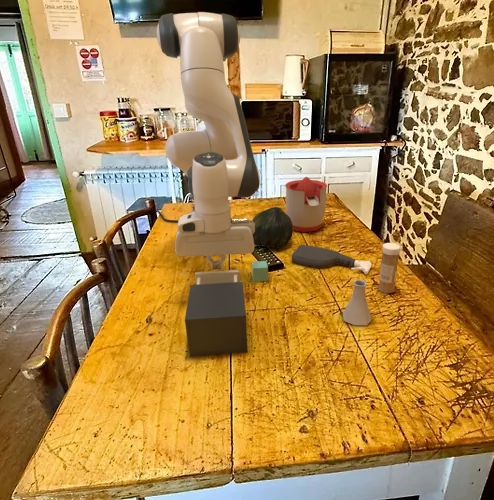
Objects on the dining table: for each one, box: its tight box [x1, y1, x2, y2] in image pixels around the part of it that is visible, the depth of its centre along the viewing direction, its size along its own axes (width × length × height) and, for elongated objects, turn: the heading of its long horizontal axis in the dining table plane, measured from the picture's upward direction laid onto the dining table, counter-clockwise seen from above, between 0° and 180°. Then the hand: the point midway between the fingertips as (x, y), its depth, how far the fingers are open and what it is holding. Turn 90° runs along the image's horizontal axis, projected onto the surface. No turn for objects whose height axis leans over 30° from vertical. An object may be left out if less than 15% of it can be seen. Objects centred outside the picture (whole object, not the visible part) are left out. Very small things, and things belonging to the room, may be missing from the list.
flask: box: [342, 279, 373, 326], centre depth 96 cm, size 7×7×10 cm
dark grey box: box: [184, 281, 249, 358], centre depth 91 cm, size 15×13×10 cm
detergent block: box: [251, 260, 269, 283], centre depth 117 cm, size 4×4×4 cm
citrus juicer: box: [284, 176, 328, 233], centre depth 150 cm, size 16×17×20 cm
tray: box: [194, 269, 241, 285], centre depth 101 cm, size 18×11×8 cm, turn 6°
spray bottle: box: [291, 244, 372, 275], centre depth 125 cm, size 3×11×24 cm
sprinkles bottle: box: [377, 242, 401, 294], centre depth 107 cm, size 5×5×13 cm
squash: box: [252, 206, 294, 249], centre depth 137 cm, size 14×15×15 cm
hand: (217, 268), depth 105 cm, fingers closed
